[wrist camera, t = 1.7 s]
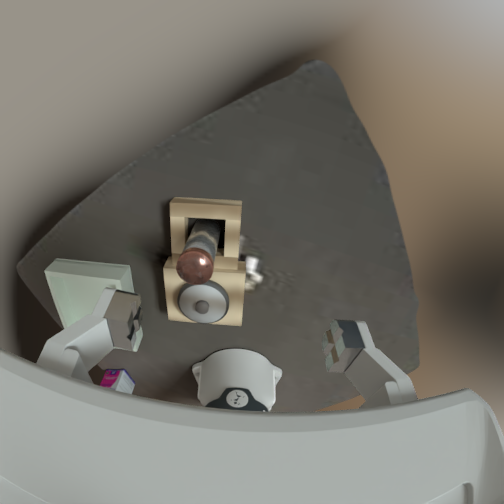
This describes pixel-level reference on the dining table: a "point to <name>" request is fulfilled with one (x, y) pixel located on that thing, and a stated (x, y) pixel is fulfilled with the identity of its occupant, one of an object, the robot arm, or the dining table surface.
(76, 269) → the tray
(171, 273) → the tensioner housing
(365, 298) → the dining table surface
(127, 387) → the supplement box
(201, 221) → the lock pin
